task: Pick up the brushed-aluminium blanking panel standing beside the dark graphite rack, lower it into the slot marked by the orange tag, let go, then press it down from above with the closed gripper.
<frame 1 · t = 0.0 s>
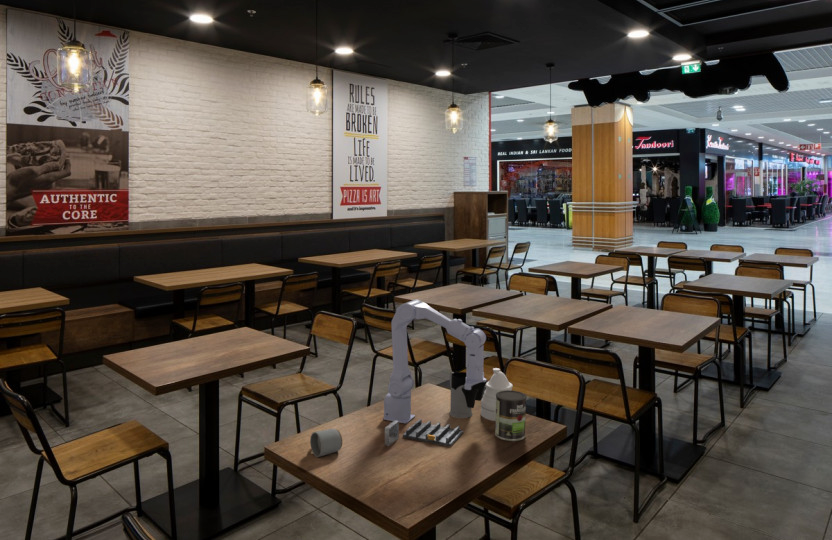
hand: (474, 403, 197), 10 cm above the table, fingers open, 7 cm apart
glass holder: (457, 411, 218), on the table
rack: (433, 435, 196), on the table
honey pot: (498, 415, 214), on the table
panel: (391, 441, 190), on the table
ceramic mug: (323, 452, 183), on the table
coffee can: (510, 435, 196), on the table
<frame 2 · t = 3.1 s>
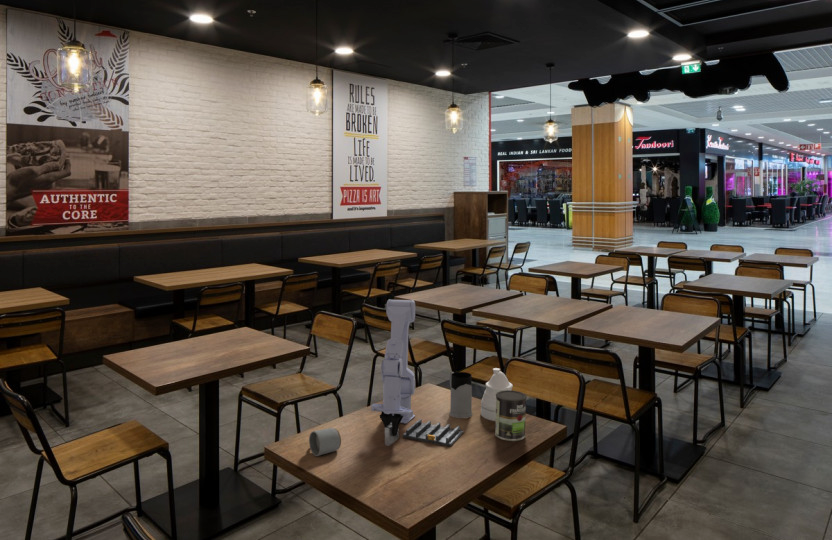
hand: (391, 434, 190), 2 cm above the table, fingers closed on panel, 2 cm apart
panel: (391, 441, 190), on the table, touching gripper
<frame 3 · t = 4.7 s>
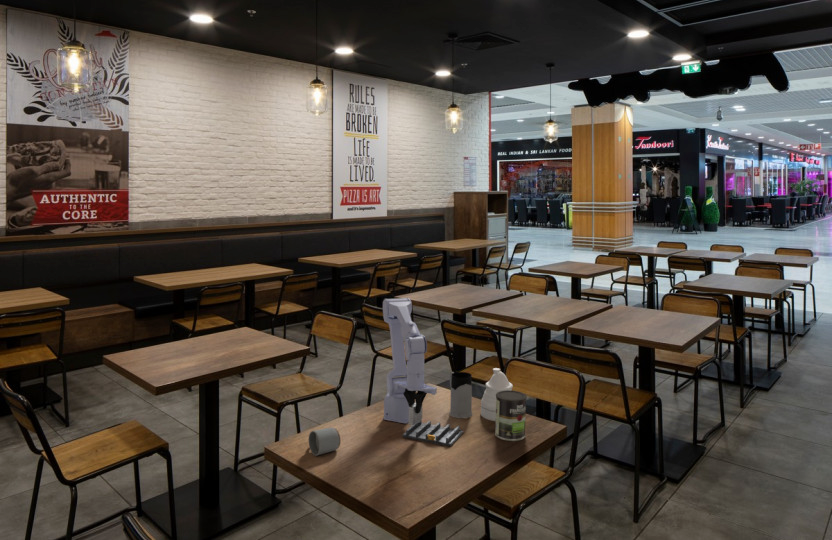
hand: (415, 411, 191), 9 cm above the table, fingers closed on panel
panel: (415, 421, 192), point 6 cm above the table, touching gripper
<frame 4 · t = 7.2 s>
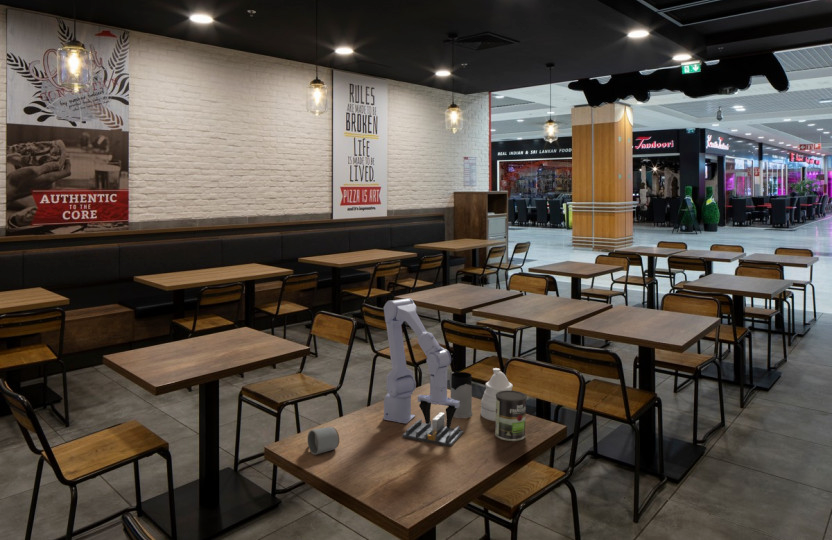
hand: (438, 424, 194), 4 cm above the table, fingers open, 7 cm apart
panel: (438, 433, 195), point 1 cm above the table, touching rack
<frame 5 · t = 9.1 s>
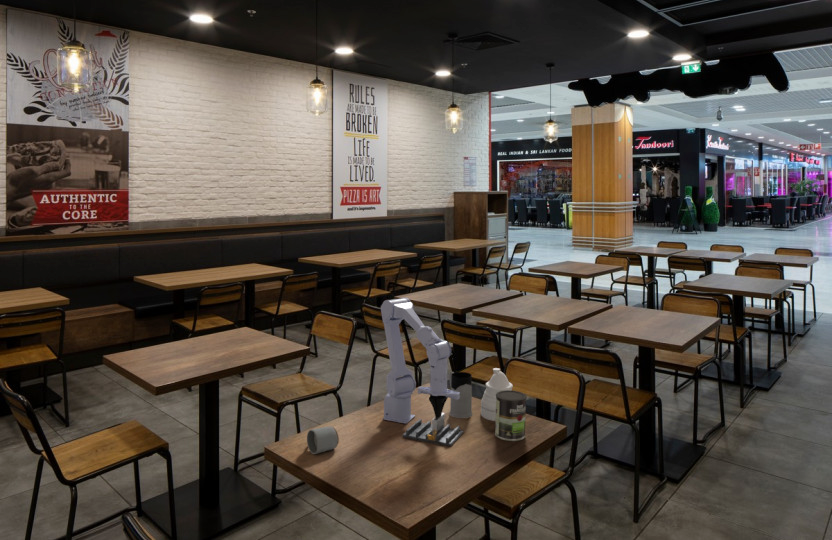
hand: (438, 416, 194), 7 cm above the table, fingers closed, pressing on panel
panel: (438, 433, 195), point 1 cm above the table, touching gripper, rack
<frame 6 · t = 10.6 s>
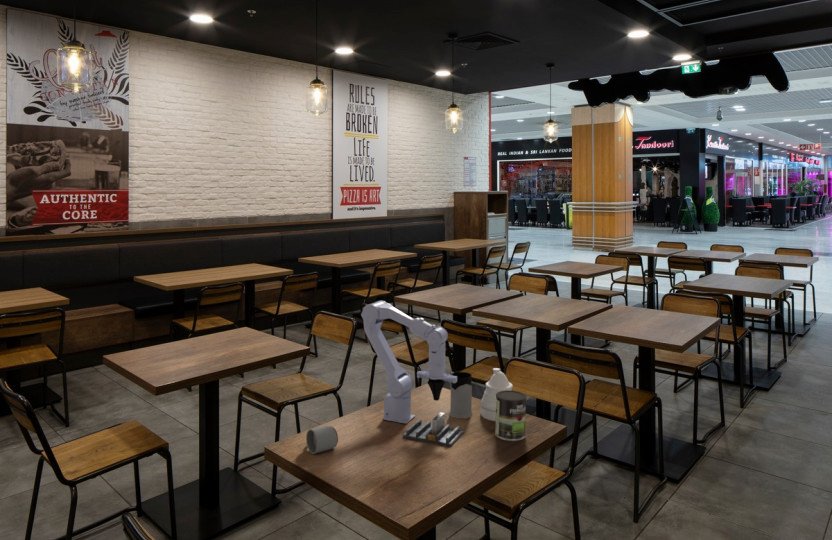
hand: (436, 399, 203), 9 cm above the table, fingers closed
panel: (438, 433, 195), point 1 cm above the table, touching rack
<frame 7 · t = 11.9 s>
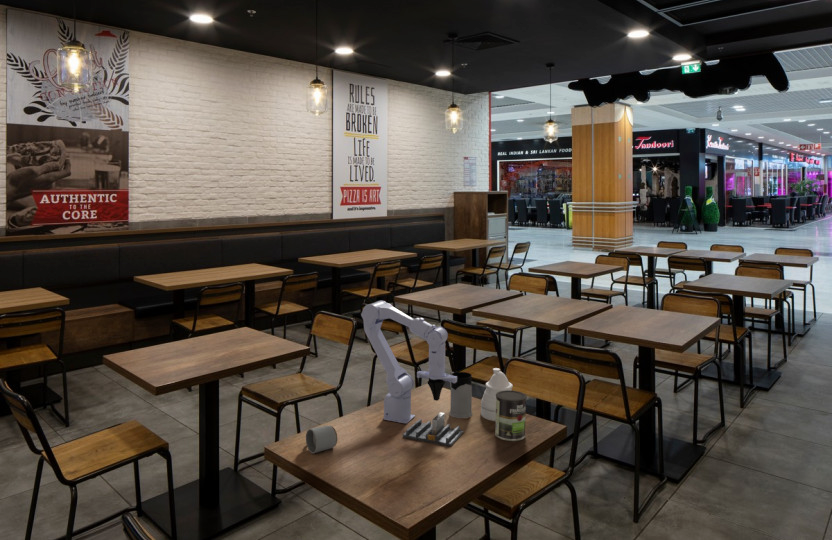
hand: (436, 399, 203), 9 cm above the table, fingers closed
at the end: panel 0.1 cm from the target spot on the rack, point 1.0 cm above the rack's base; panel tilted 0°; the gripper is holding nothing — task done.
